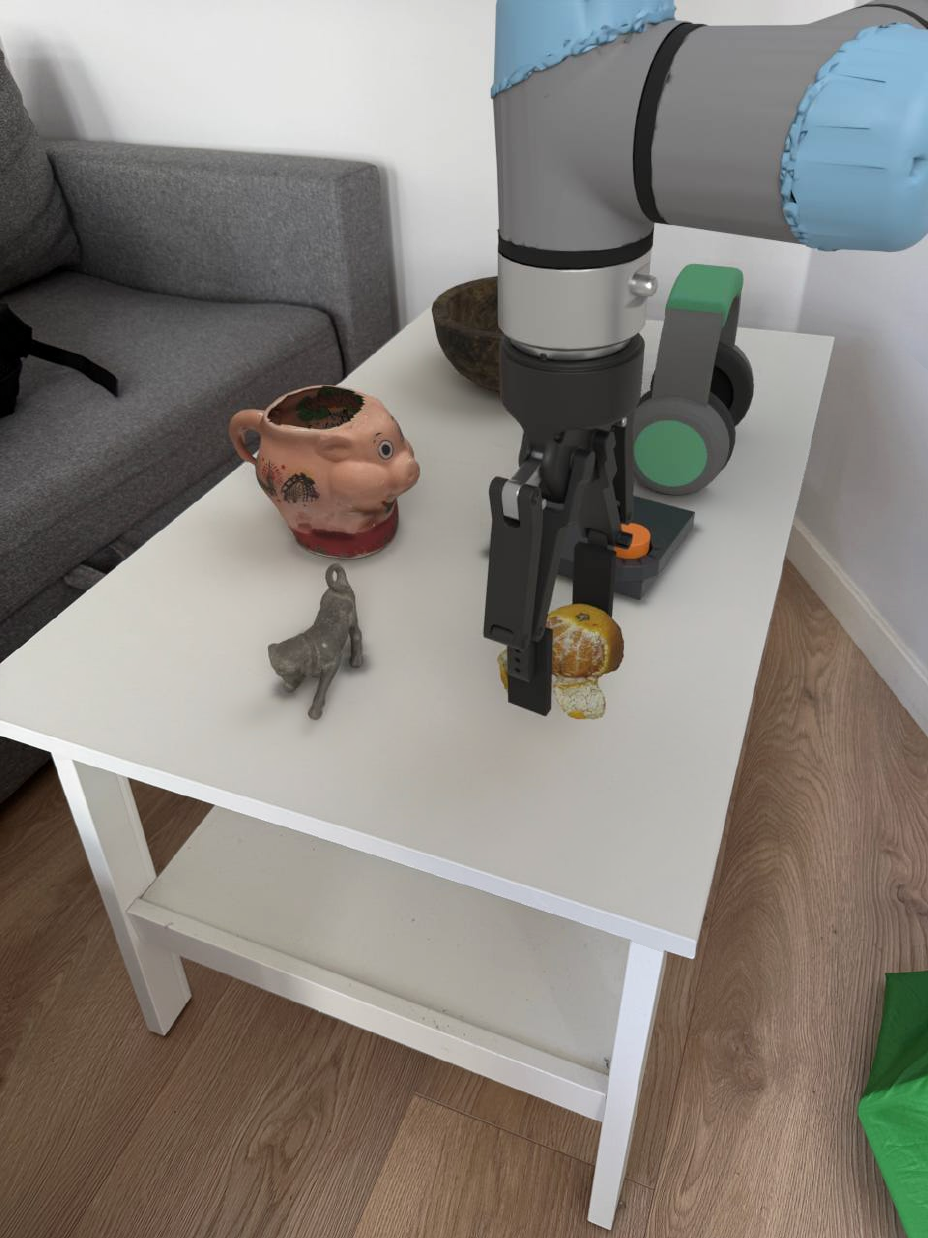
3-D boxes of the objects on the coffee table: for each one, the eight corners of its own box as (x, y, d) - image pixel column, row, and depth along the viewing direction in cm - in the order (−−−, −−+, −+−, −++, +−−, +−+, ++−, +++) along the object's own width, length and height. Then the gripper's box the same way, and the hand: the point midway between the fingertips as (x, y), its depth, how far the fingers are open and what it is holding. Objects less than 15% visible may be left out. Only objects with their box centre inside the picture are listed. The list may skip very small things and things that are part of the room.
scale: (700, 530, 88) (705, 499, 86) (644, 607, 79) (648, 574, 77) (554, 490, 95) (555, 460, 93) (487, 557, 86) (486, 525, 84)
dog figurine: (317, 623, 79) (305, 552, 74) (380, 634, 77) (371, 562, 73) (254, 719, 70) (236, 645, 65) (324, 733, 68) (310, 659, 64)
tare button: (655, 543, 81) (656, 529, 80) (639, 564, 79) (640, 549, 78) (617, 533, 83) (618, 518, 82) (600, 553, 80) (601, 538, 79)
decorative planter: (211, 550, 88) (177, 418, 79) (271, 488, 97) (247, 362, 88) (403, 585, 83) (390, 447, 74) (448, 516, 92) (441, 385, 83)
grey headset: (654, 414, 107) (673, 236, 95) (749, 428, 104) (782, 246, 91) (611, 493, 94) (626, 298, 81) (718, 512, 90) (752, 312, 78)
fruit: (483, 680, 60) (481, 637, 58) (551, 615, 65) (552, 573, 63) (592, 731, 56) (595, 687, 54) (655, 657, 61) (660, 614, 59)
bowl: (560, 437, 104) (563, 352, 97) (402, 398, 113) (395, 319, 107) (636, 367, 118) (643, 289, 112) (490, 338, 127) (489, 264, 121)
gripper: (540, 432, 38) (537, 791, 52) (712, 279, 52) (674, 595, 66) (394, 398, 42) (428, 745, 56) (593, 262, 56) (580, 567, 70)
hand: (561, 663), depth 61 cm, fingers closed on fruit, 8 cm apart
